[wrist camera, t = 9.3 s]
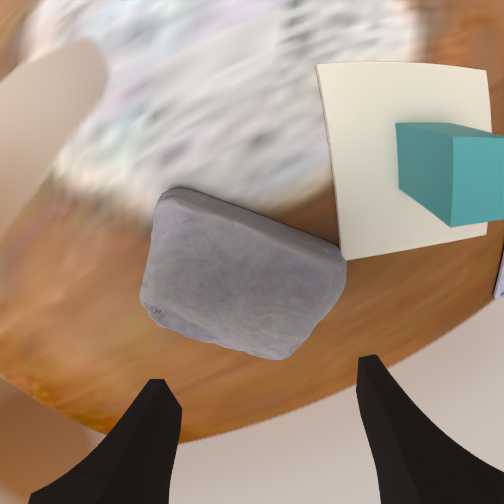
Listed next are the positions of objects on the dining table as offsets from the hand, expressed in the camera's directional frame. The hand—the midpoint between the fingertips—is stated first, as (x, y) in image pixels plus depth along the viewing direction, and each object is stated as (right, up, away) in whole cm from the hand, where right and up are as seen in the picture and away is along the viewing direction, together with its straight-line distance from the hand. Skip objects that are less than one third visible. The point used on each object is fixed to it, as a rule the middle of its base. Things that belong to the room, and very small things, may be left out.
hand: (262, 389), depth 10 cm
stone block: (-1, +4, +10) cm, 11 cm away
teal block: (+10, +11, +5) cm, 16 cm away
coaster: (+10, +11, +6) cm, 16 cm away
